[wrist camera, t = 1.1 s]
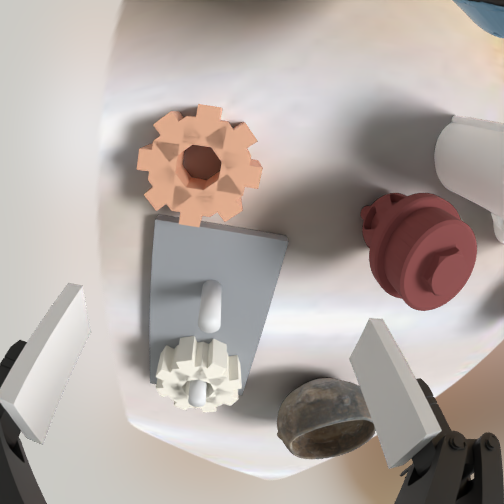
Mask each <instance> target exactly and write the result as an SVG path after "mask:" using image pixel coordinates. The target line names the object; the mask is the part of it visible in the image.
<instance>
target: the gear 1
mask: <svg viewBox="0 0 504 504" xmlns="http://www.w3.org/2000/svg"><path fill="white" fill-rule="evenodd" d="M221 114H222V108H220V107H214V106H208V105H201V104H198V109H197V114H196V116H186V117H185V118H184V117H183V116H182V115H181V113H180V112H179V111H170V112H169V113H168V114H166V115H165V116H164V117H162V118H161V119H160V120H159V121H157V122H156V123H155V124H153V126H154V127H155V128H156V130H157V131H158V132H159V134H160V136H159V137H158V138H156V139H155V140H154V141H153V144H149V145H147V146H144V147H142V148H139V155H138V163H137V170H143V171H149V176H148V181H149V182H150V183H151V185H152V187H151V188H150V189H149V190H148V191H147V192H146V193H145V194H144V196H145V197H146V198H147V200H148V201H149V202H150V203H151V205H152V206H153V207H154V209H155V210H156V211H157V210H159V209H160V208H161V207H163V206H164V205H165V204H167V205H168V207H169V208H170V209H171V211H176V212H180V218H179V224H181V225H187V226H193V227H200V223H201V219H202V216H207V217H211V216H212V215H214V214H215V213H217V212H218V214H219V215H220V216H221V218H222V219H223V220H224V222H226V221H227V220H229V219H231V218H232V217H234V216H235V215H237V214H238V213H240V212H241V211H243V210H242V201H241V196H243V192H244V188H245V187H250V188H255V189H258V187H259V182H260V178H261V173H262V169H263V168H262V166H261V164H260V163H259V161H258V160H253V159H251V155H250V153H249V151H248V149H247V148H248V147H249V146H251V145H253V144H254V143H256V142H257V139H256V138H255V136H254V135H253V133H252V132H251V131H250V129H249V128H248V126H247V125H246V123H245V122H242V123H240V124H239V125H237V126H236V127H234V128H233V127H232V126H231V125H230V123H229V122H228V121H222V120H220V119H221ZM191 145H199V146H206V147H211V148H212V149H213V151H214V152H215V153H216V155H217V156H218V158H219V159H220V160H221V162H222V164H221V169H220V171H219V172H218V173H216V174H215V175H213V176H212V177H211V178H209V179H208V180H205V179H199V178H192V177H191V176H190V175H189V173H188V172H187V170H186V169H185V168H184V166H183V158H184V152H185V150H186V149H187V148H189V147H190V146H191Z"/></svg>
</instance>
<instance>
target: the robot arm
mask: <svg viewBox="0 0 504 504" xmlns="http://www.w3.org/2000/svg"><path fill="white" fill-rule="evenodd" d="M453 1H454V2H455V3H456V4H457V5H458V6H459V7H460V8H461V9H462V10H463V11H464V12H465V13H466V14H467V15H468V16H469V17H470V18H471V19H472V21H473V22H474V23H476V24H477V25H478V26H479V27H480V28H482V29H483V30H485V31H486V32H488V33H490V34H492V35H494V36H497V37H499V38H504V0H453ZM90 333H91V329H90V324H89V319H88V314H87V308H86V303H85V296H84V291H83V286H82V285H77V284H71V283H68V284H67V286H66V287H65V288H64V290H63V291H62V292H61V294H60V295H59V296H58V298H57V299H56V301H55V302H54V303H53V305H52V306H51V308H50V309H49V310H48V312H47V313H46V315H45V316H44V318H43V319H42V321H41V322H40V324H39V325H38V327H37V328H36V330H35V331H34V333H33V334H32V336H31V337H30V339H29V340H28V342H25V341H21V340H19V341H18V342H16V343H15V344H14V345H13V346H11V347H10V349H9V350H8V352H7V354H6V355H5V358H3V360H2V362H1V363H0V504H47V503H46V501H45V499H44V497H43V495H42V493H41V490H40V488H39V486H38V484H37V482H36V479H35V477H34V475H33V472H32V470H31V467H30V465H29V463H28V460H27V457H26V455H25V452H24V449H23V446H22V443H21V441H20V439H19V434H20V432H22V433H23V434H24V435H25V437H26V438H28V439H30V440H32V441H34V442H37V443H39V444H42V445H43V443H44V440H45V437H46V434H47V432H48V429H49V427H50V424H51V421H52V419H53V416H54V414H55V411H56V408H57V406H58V403H59V401H60V399H61V396H62V394H63V392H64V389H65V387H66V384H67V382H68V380H69V377H70V375H71V373H72V371H73V369H74V366H75V364H76V362H77V360H78V358H79V356H80V353H81V351H82V349H83V347H84V345H85V343H86V341H87V339H88V337H89V335H90ZM349 359H350V362H351V364H352V367H353V370H354V372H355V375H356V377H357V380H358V383H359V385H360V388H361V391H362V393H363V396H364V399H365V401H366V404H367V407H368V410H369V412H370V415H371V418H372V421H373V424H374V426H375V429H376V432H377V435H378V438H379V441H380V444H381V447H382V450H383V452H384V455H385V458H386V461H387V465H388V468H389V469H390V468H393V467H397V466H401V465H404V464H405V463H407V462H408V461H409V460H410V459H411V458H412V461H413V464H412V465H411V466H409V467H408V468H407V469H405V470H404V471H403V472H402V473H401V475H400V476H403V475H404V474H406V473H407V472H408V473H407V476H406V477H405V480H404V483H403V485H402V488H401V490H400V492H399V494H398V497H397V499H396V501H395V504H504V487H503V469H502V458H501V449H500V443H499V440H498V439H497V437H496V436H495V435H494V434H492V433H484V434H483V435H482V436H481V437H480V438H478V439H465V437H464V436H463V435H462V434H461V433H459V432H457V431H451V429H450V427H449V425H448V423H447V421H446V419H445V417H444V415H443V413H442V411H441V409H440V407H439V405H438V404H437V401H436V399H435V398H434V397H433V394H432V392H431V390H430V388H429V386H428V385H427V384H426V383H425V382H424V381H423V380H422V379H421V378H420V379H416V378H415V376H414V374H413V372H412V370H411V369H410V367H409V365H408V363H407V361H406V359H405V358H404V356H403V354H402V352H401V350H400V349H399V347H398V345H397V343H396V341H395V340H394V338H393V336H392V334H391V333H390V331H389V329H388V328H387V326H386V324H385V322H384V321H383V319H372V318H369V320H368V322H367V324H366V327H365V329H364V331H363V333H362V335H361V337H360V339H359V341H358V343H357V345H356V347H355V349H354V351H353V353H352V355H351V356H350V358H349ZM473 473H474V479H473V480H471V478H470V475H472V474H473Z"/></svg>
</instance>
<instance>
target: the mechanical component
mask: <svg viewBox="0 0 504 504" xmlns="http://www.w3.org/2000/svg"><path fill="white" fill-rule="evenodd" d="M361 218H362V219H363V220H364V221H363V231H362V232H363V238H364V240H365V243H366V244H367V246H368V247H369V248H370V251H369V262H370V268H371V271H372V274H373V275H374V277H375V279H376V280H377V282H378V283H379V284H380V286H381V287H382V288H383V289H384V290H385V291H386V292H387V293H388V294H390V295H392V296H394V297H397V298H402V299H403V300H404V301H405V302H406V304H407V305H408V306H410V307H411V308H413V309H416V310H421V311H426V310H432V309H435V308H438V307H440V306H442V305H444V304H446V303H447V302H448V301H450V300H451V299H452V298H453V297H455V296H456V295H457V294H458V293H459V291H460V290H461V289H462V288H463V286H464V285H465V284H466V282H467V280H468V279H469V277H470V275H471V273H472V270H473V268H474V265H475V261H476V255H477V243H476V238H475V235H474V233H473V231H472V229H471V228H470V227H469V226H468V225H467V224H466V223H464V222H463V221H461V219H460V216H459V214H458V212H457V211H456V209H455V208H454V207H453V205H451V204H450V203H449V202H448V201H446V200H444V199H442V198H440V197H439V196H436V195H434V194H430V193H417V194H413V195H410V196H406V195H403V194H400V193H390V194H387V195H384V196H382V197H380V198H379V199H378V200H376V201H375V202H374V203H373V204H372V205H371V206H365V207H364V208H363V209H362V210H361Z"/></svg>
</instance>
